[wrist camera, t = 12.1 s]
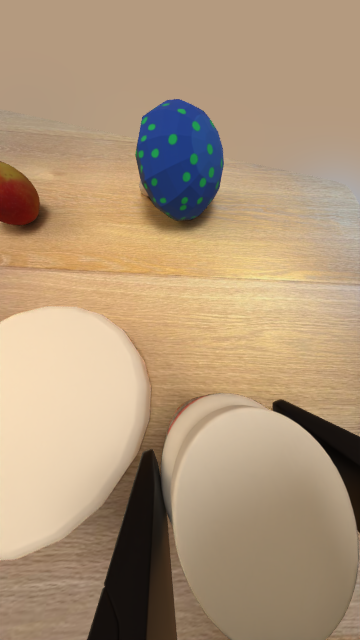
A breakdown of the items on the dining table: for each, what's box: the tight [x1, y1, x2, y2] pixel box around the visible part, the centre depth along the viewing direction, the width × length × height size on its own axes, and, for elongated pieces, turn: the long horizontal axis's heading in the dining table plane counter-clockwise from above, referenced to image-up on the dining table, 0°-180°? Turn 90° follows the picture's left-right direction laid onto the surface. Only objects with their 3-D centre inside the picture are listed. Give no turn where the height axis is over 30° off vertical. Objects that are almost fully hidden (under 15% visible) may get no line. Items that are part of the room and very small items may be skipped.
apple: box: [0, 161, 40, 225], centre depth 27 cm, size 8×8×8 cm
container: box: [0, 306, 151, 560], centre depth 18 cm, size 20×20×5 cm
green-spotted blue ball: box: [135, 99, 224, 221], centre depth 29 cm, size 14×14×15 cm
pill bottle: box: [161, 393, 359, 640], centre depth 9 cm, size 6×6×10 cm
